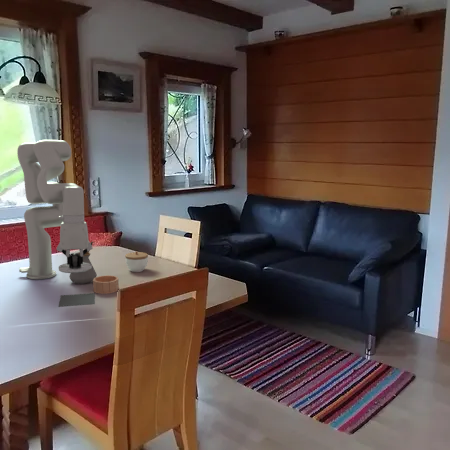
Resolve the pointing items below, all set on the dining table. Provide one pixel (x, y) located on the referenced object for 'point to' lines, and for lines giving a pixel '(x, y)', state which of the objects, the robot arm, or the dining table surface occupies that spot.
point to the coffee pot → (84, 276)
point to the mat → (77, 299)
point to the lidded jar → (136, 261)
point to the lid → (75, 265)
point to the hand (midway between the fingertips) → (75, 265)
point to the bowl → (105, 284)
